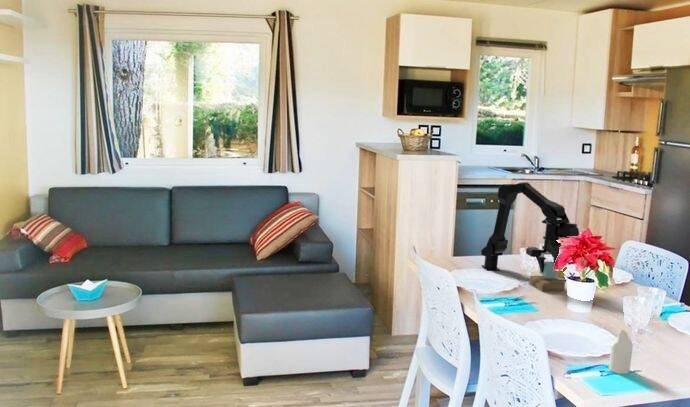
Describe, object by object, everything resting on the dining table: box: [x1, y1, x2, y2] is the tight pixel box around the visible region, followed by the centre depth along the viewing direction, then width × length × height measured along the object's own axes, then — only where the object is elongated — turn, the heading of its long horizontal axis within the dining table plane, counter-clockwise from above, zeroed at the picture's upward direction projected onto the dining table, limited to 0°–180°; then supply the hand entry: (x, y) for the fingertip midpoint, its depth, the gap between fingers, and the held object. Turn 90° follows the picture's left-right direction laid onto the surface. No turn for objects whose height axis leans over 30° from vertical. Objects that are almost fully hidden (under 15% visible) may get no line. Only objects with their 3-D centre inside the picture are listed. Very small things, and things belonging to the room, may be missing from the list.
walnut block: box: [529, 275, 566, 293], centre depth 256 cm, size 10×10×4 cm
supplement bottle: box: [555, 267, 567, 281], centre depth 270 cm, size 7×7×13 cm
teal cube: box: [539, 261, 557, 277], centre depth 255 cm, size 5×5×5 cm
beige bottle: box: [608, 329, 634, 375], centre depth 179 cm, size 6×12×6 cm
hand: (548, 272), depth 255 cm, fingers closed on teal cube, 5 cm apart
